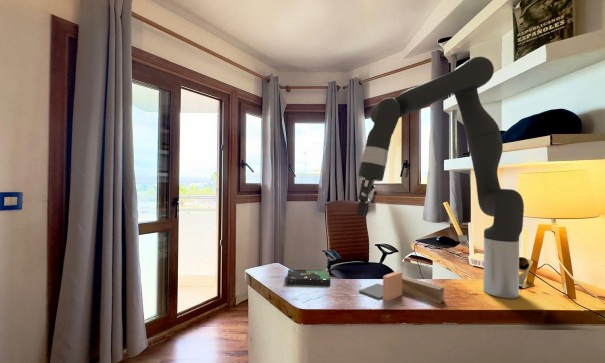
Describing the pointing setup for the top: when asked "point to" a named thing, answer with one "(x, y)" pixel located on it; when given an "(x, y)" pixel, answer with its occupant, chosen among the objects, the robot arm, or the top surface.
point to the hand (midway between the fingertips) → (361, 215)
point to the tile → (392, 285)
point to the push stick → (423, 289)
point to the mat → (373, 291)
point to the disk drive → (308, 277)
